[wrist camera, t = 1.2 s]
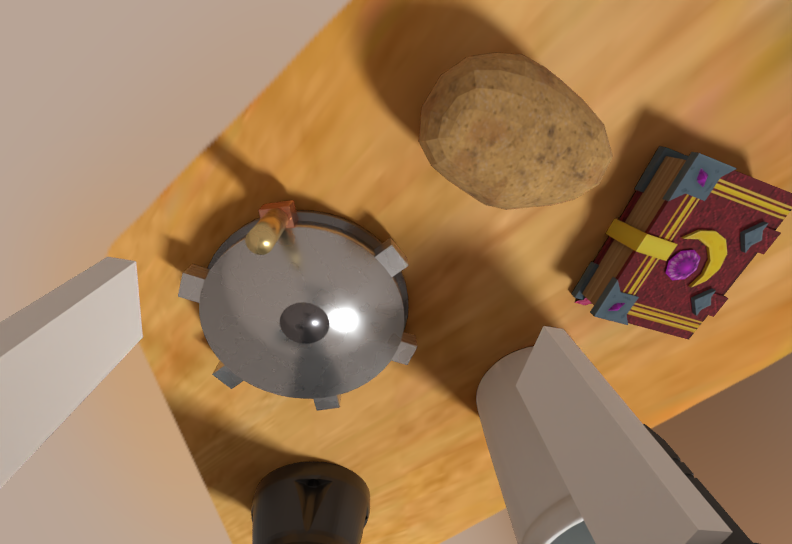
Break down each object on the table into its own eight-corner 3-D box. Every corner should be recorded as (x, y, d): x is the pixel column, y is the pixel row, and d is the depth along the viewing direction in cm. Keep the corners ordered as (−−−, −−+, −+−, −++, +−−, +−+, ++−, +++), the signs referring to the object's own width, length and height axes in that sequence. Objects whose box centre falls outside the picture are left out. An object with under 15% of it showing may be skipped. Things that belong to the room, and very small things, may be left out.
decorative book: (754, 184, 33) (815, 198, 29) (652, 325, 40) (688, 355, 35) (655, 145, 31) (703, 153, 27) (563, 301, 38) (589, 329, 33)
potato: (540, 214, 33) (587, 248, 26) (394, 164, 30) (401, 185, 23) (598, 103, 29) (673, 105, 22) (437, 33, 26) (463, 9, 19)
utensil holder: (444, 414, 43) (488, 597, 27) (517, 319, 38) (623, 477, 22) (542, 448, 47) (629, 625, 31) (620, 365, 42) (773, 528, 26)
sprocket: (297, 421, 41) (284, 480, 34) (144, 302, 33) (92, 350, 27) (457, 319, 36) (475, 366, 30) (323, 154, 28) (311, 171, 22)
